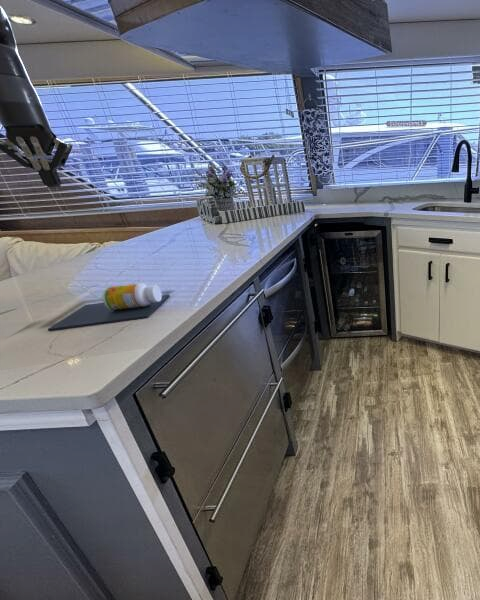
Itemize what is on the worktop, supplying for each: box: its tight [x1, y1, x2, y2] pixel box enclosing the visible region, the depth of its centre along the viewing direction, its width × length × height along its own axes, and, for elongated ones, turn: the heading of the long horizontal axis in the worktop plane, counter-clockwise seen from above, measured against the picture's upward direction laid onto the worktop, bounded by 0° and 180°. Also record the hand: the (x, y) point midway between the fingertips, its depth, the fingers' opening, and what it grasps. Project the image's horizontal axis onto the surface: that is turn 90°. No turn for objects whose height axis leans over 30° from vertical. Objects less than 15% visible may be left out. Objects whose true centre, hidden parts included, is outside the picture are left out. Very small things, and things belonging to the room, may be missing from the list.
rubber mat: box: [47, 294, 170, 332], centre depth 74 cm, size 18×13×1 cm
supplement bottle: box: [101, 283, 163, 310], centre depth 74 cm, size 5×5×10 cm
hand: (54, 187), depth 76 cm, fingers closed
